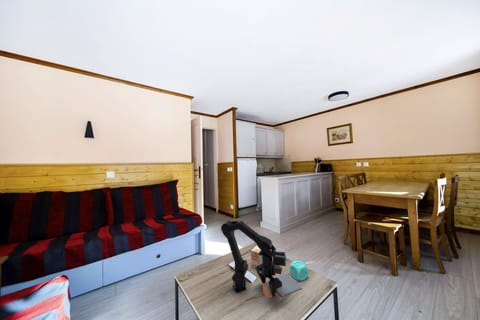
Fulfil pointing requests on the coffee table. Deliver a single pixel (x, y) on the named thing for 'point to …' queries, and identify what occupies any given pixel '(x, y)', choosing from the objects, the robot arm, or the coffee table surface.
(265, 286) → the terracotta cube
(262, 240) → the robot arm
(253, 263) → the stack of blocks
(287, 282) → the slate mat
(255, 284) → the coffee table surface
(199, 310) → the coffee table surface
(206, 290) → the coffee table surface
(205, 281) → the coffee table surface
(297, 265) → the decorative dice
